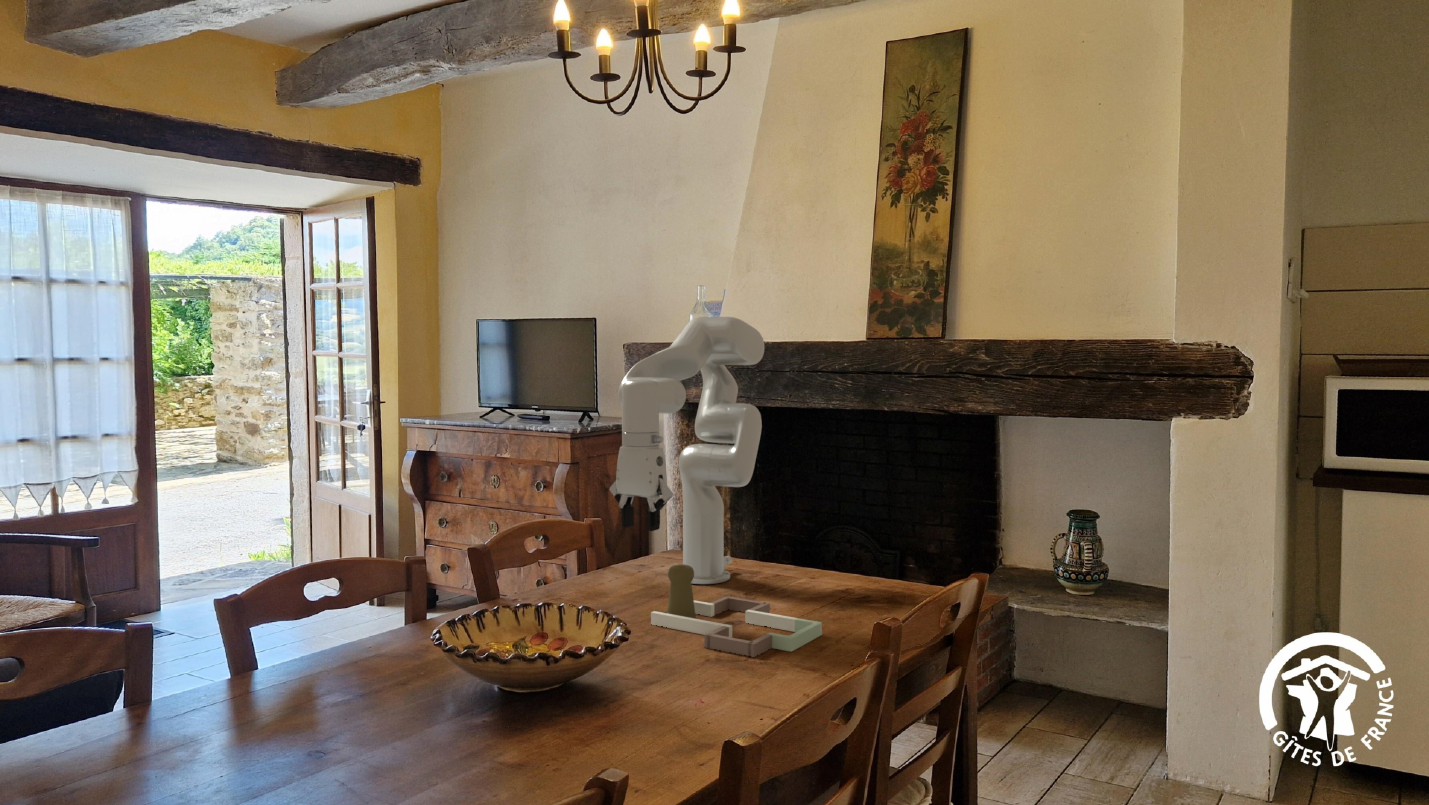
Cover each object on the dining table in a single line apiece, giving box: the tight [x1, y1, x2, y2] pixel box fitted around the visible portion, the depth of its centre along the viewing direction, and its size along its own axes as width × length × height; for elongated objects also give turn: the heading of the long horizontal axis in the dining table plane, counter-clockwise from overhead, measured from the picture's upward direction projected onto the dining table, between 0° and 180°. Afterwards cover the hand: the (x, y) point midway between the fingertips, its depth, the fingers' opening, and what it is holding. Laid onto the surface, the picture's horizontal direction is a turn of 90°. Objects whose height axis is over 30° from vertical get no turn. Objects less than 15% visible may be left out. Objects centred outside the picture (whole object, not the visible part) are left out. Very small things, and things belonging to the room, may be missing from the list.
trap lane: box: [650, 595, 823, 658], centre depth 190 cm, size 25×31×2 cm
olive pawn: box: [666, 563, 697, 619], centre depth 197 cm, size 6×6×11 cm
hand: (640, 527), depth 202 cm, fingers open, 5 cm apart
